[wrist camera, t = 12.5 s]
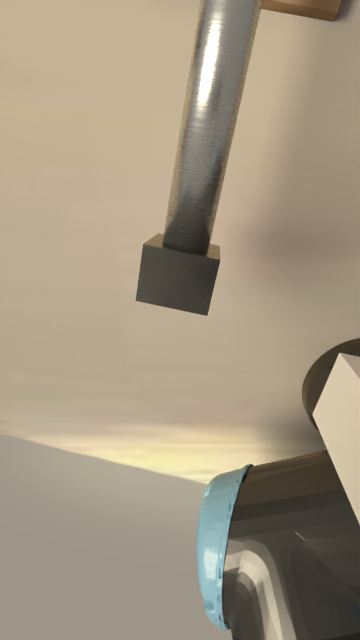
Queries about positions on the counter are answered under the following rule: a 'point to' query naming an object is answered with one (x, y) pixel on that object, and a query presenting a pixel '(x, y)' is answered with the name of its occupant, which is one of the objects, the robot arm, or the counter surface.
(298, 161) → the counter surface
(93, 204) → the counter surface
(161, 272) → the shaft
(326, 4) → the stand
